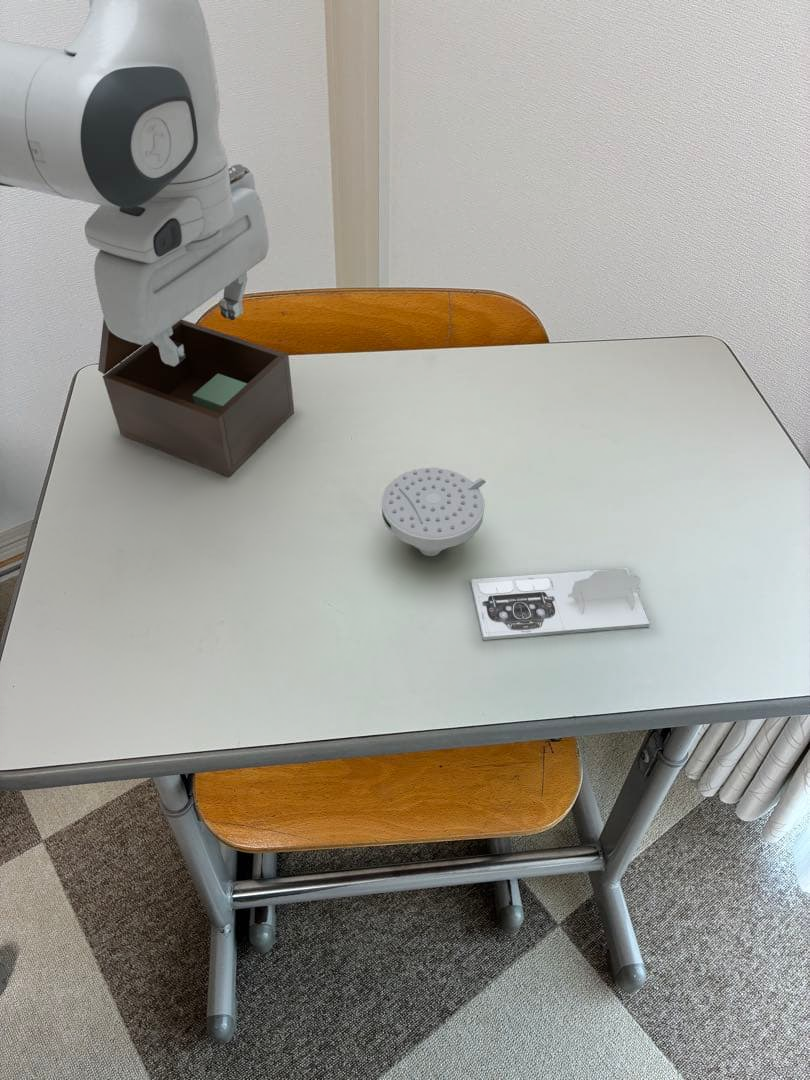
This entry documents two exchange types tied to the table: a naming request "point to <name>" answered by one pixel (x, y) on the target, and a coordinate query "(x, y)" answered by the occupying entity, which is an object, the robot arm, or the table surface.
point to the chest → (193, 431)
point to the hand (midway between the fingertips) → (204, 337)
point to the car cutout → (558, 603)
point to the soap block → (217, 392)
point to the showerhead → (433, 508)
